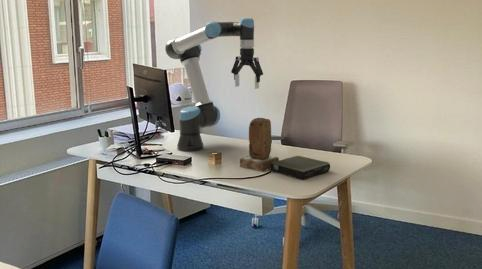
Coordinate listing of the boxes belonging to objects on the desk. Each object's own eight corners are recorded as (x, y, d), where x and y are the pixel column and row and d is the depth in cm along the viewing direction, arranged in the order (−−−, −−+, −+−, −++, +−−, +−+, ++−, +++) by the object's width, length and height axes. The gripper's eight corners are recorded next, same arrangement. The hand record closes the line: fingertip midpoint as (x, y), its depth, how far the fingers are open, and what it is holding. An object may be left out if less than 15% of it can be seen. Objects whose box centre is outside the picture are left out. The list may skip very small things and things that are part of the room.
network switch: (293, 163, 275) (294, 154, 274) (333, 171, 260) (333, 161, 259) (266, 173, 258) (266, 163, 256) (307, 182, 243) (308, 171, 242)
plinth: (240, 166, 268) (240, 158, 267) (256, 160, 278) (256, 152, 278) (262, 171, 259) (262, 162, 258) (278, 165, 270) (278, 157, 269)
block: (272, 157, 268) (272, 118, 263) (264, 160, 262) (264, 121, 258) (255, 154, 274) (255, 116, 270) (246, 157, 268) (246, 118, 264)
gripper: (224, 47, 288) (224, 86, 293) (261, 48, 273) (261, 89, 277) (233, 46, 294) (233, 84, 298) (269, 48, 278) (269, 88, 283)
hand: (246, 87), depth 288 cm, fingers open, 13 cm apart
